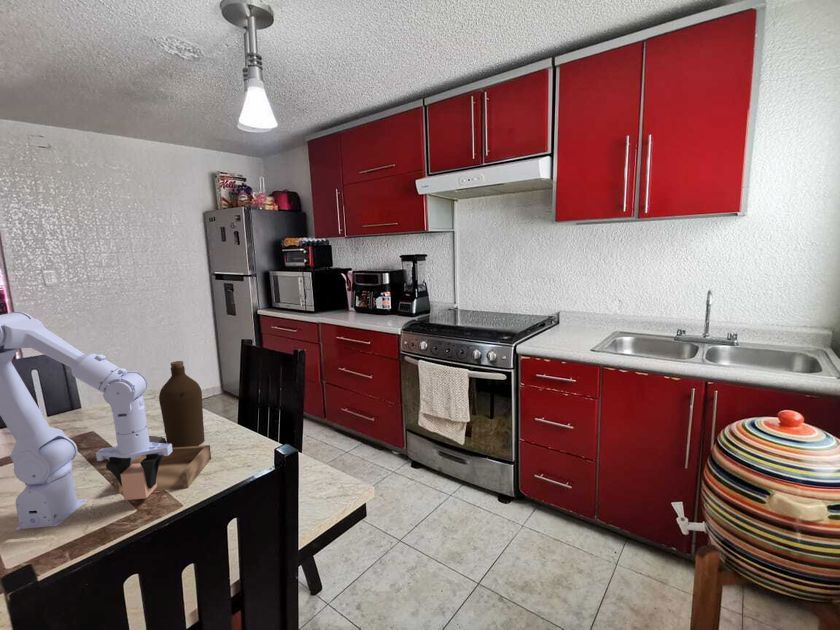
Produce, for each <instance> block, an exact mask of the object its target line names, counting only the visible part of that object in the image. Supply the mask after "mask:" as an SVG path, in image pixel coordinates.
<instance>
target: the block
mask: <svg viewBox="0 0 840 630" xmlns="http://www.w3.org/2000/svg"><path fill="white" fill-rule="evenodd" d="M120 475H121V482H122V488H123V493H122V495H123V500H124V501H129V500H141V499H147V498H148V497H149V496H150V495H151V494H152V493H153V492H155V491H154V489H155V488H156V487H157V483H156V484H155V485H154V486H153V487H152V488H149V489H148V487H147V483H146V476H145V472H144V470H143V467H142V466H141V464H140V463H137V464H132V465H131V466H130V467H128V468H127V469H126V470H125V471H124V472H123V473H121V474H120Z"/></svg>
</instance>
